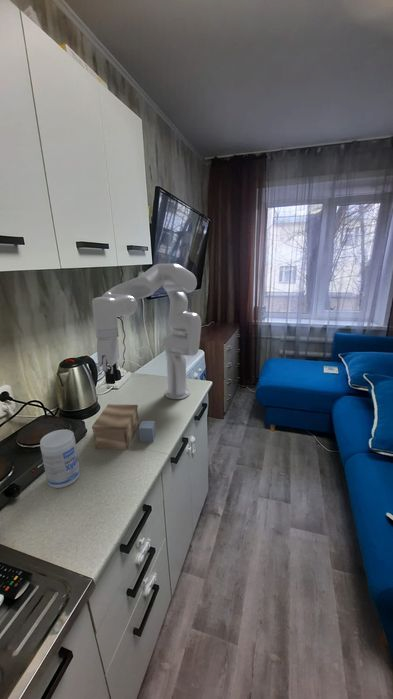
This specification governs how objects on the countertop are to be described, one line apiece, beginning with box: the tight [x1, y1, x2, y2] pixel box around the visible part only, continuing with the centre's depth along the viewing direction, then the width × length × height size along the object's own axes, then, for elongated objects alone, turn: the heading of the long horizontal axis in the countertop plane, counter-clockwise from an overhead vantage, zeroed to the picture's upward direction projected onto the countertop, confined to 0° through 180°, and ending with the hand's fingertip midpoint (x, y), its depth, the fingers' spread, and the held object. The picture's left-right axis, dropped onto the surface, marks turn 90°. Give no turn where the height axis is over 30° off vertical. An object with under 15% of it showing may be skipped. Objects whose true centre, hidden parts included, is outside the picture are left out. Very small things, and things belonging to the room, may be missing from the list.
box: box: [92, 409, 140, 450], centre depth 110 cm, size 16×12×8 cm
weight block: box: [138, 420, 157, 443], centre depth 108 cm, size 5×5×6 cm
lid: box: [91, 403, 139, 430], centre depth 109 cm, size 16×12×1 cm
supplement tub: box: [39, 429, 81, 489], centre depth 87 cm, size 10×10×15 cm
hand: (112, 381), depth 104 cm, fingers open, 3 cm apart
